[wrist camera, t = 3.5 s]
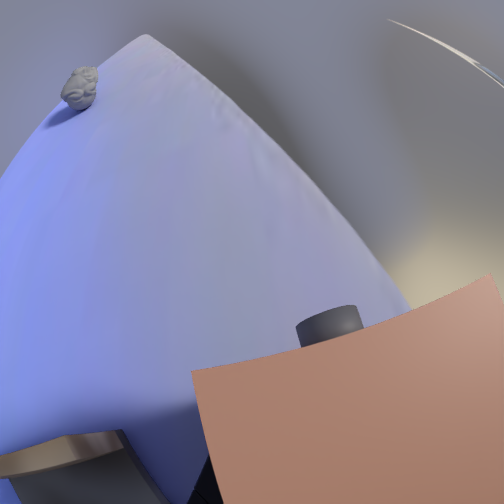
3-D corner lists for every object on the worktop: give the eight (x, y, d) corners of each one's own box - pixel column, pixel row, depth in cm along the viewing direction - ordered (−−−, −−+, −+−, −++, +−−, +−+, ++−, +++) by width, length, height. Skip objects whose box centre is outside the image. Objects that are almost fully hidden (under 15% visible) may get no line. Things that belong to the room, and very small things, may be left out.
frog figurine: (113, 96, 33) (102, 59, 27) (78, 121, 30) (62, 83, 24) (95, 93, 34) (84, 60, 28) (63, 117, 31) (49, 83, 25)
